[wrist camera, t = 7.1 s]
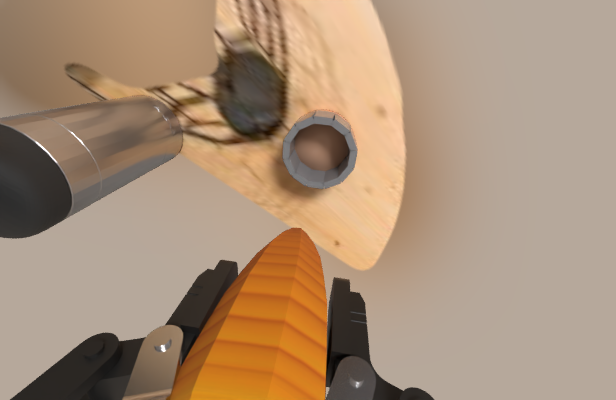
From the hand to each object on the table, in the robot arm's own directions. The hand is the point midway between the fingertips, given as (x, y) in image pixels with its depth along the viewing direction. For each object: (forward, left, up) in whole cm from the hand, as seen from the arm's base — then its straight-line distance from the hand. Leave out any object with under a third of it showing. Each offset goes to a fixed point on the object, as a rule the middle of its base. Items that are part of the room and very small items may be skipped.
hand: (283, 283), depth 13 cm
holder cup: (0, 0, -25) cm, 25 cm away
